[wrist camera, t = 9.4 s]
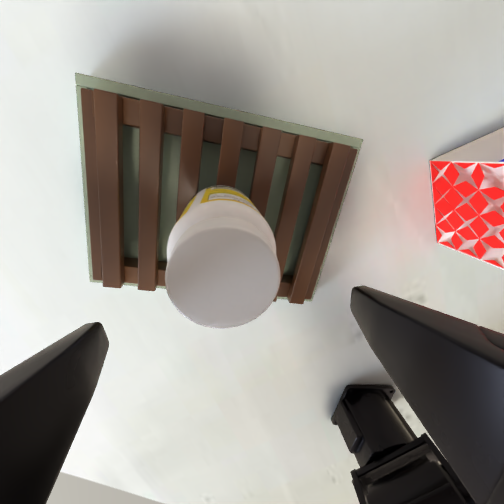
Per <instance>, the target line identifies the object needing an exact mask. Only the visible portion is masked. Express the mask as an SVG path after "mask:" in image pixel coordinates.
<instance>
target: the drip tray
mask: <svg viewBox="0 0 504 504" xmlns="http://www.w3.org/2000/svg"><path fill="white" fill-rule="evenodd" d="M75 80H76V93H77V107H78V121H79V135H80V150H81V164H82V178H83V192H84V207H85V221H86V235H87V249H88V264H89V275H90V276H89V278H90V282H97V283H103V281H101V280H93V274H92V259H91V243H90V228H89V212H88V197H87V182H86V166H85V151H84V135H83V120H82V105H81V88H86V89H90V90H93V89H95V88H96V89H100V90H105V91H109V92H114V93H117V94H118V95H120V96H122V97H126V98H131V99H135V100H140V99H145V100H149V101H154V102H158V103H162V104H163V105H164V106H166V107H171V108H175V109H180V110H183V109H184V108H185V109H190V110H194V111H198V112H203V113H205V115H207V116H211V117H216V118H220V119H224V118H229V119H234V120H238V121H243V122H244V123H245V124H247V125H252V126H256V127H260V128H262V127H263V126H265V127H269V128H274V129H278V130H282V132H283V133H287V134H292V135H296V136H297V135H305V136H309V137H314V138H317V140H319V141H323V142H328V143H332V142H336V143H341V144H345V145H349V146H351V147H350V148H355V149H357V150H358V151H357V154H356V157H355V161H354V164H353V167H352V170H351V173H350V177H349V180H348V183H347V186H346V189H345V193H344V196H343V199H342V202H341V205H340V208H339V212H338V215H337V218H336V221H335V224H334V228H333V231H332V234H331V237H330V240H329V244H328V247H327V250H326V253H325V256H324V260H323V263H322V266H321V269H320V272H319V276H318V279H317V282H316V285H315V288H314V291H313V295H312V298H311V300H310V299H304V301H311V302H312V300H313V296H314V294H315V290H316V287H317V284H318V281H319V278H320V275H321V271H322V268H323V265H324V262H325V259H326V256H327V252H328V249H329V246H330V243H331V240H332V237H333V233H334V230H335V227H336V224H337V221H338V218H339V215H340V211H341V208H342V205H343V202H344V199H345V196H346V192H347V189H348V186H349V183H350V180H351V177H352V173H353V170H354V167H355V164H356V161H357V158H358V154H359V151H360V148H361V145H362V142H363V139H359V138H354V137H350V136H346V135H342V134H337V133H333V132H329V131H324V130H320V129H316V128H311V127H307V126H303V125H299V124H294V123H290V122H286V121H281V120H277V119H273V118H268V117H264V116H260V115H256V114H251V113H247V112H243V111H238V110H234V109H230V108H226V107H221V106H217V105H213V104H208V103H204V102H200V101H195V100H191V99H187V98H183V97H178V96H174V95H170V94H165V93H161V92H157V91H152V90H148V89H144V88H140V87H135V86H131V85H127V84H122V83H118V82H114V81H110V80H105V79H101V78H97V77H92V76H88V75H84V74H79V73H75ZM220 149H221V145H218V144H213V143H208V142H203V148H202V158H201V168H200V179H199V189H198V193H199V192H200V191H201V190H203V189H205V188H208V187H211V186H216V182H217V173H218V165H219V157H220ZM180 150H181V137H178V136H173V135H168V134H164V147H163V170H162V192H161V215H160V237H159V260H158V261H165V262H168V261H167V244H168V239H169V235H170V233H171V231H172V229H173V227H174V226H175V224H176V209H177V194H178V180H179V165H180ZM256 154H257V152H252V151H247V150H242V149H241V151H240V157H239V164H238V170H237V177H236V184H235V189H237V190H239V191H241V192H242V193H244V194H245V195H246V196H247V197H248V198H249V194H250V189H251V183H252V177H253V172H254V166H255V160H256ZM290 161H291V159H287V158H282V157H277V158H276V163H275V168H274V173H273V178H272V183H271V188H270V193H269V198H268V203H267V208H266V213H265V217H264V219H265V220H266V221H267V223H268V225H269V226H270V228H271V230H272V233H273V235H274V232H275V228H276V223H277V219H278V214H279V210H280V205H281V201H282V196H283V192H284V188H285V183H286V179H287V174H288V170H289V165H290ZM322 167H323V166H321V165H316V164H311V165H310V169H309V173H308V177H307V181H306V185H305V189H304V193H303V197H302V201H301V205H300V209H299V213H298V217H297V221H296V225H295V228H294V232H293V236H292V240H291V244H290V248H289V252H288V256H287V260H286V264H285V268H284V272H283V274H285V275H293V274H294V270H295V267H296V263H297V259H298V256H299V252H300V248H301V245H302V241H303V237H304V234H305V230H306V226H307V222H308V219H309V215H310V211H311V208H312V204H313V200H314V197H315V193H316V189H317V186H318V182H319V178H320V174H321V171H322ZM123 200H124V257H128V258H138V219H139V128H134V127H129V126H124V125H123ZM123 285H131V286H138V284H134V283H124V284H123ZM156 288H164V289H166V286H157V287H156ZM277 299H287V297H278V296H277Z"/></svg>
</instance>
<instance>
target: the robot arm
mask: <svg viewBox="0 0 504 504" xmlns="http://www.w3.org/2000/svg"><path fill="white" fill-rule="evenodd" d="M350 307H351V311H352V313H353V315H354V317H355V319H356V321H357V323H358V325H359V327H360V328H361V330H362V332H363V334H364V336H365V338H366V340H367V342H368V343H369V345H370V347H371V348H372V350H373V351H374V353H375V355H376V356H377V357H378V359H379V360H380V362H381V363H382V365H383V366H384V368H385V369H386V371H387V372H388V374H389V375H390V377H391V378H392V380H393V381H394V383H395V384H396V386H397V387H398V389H399V390H400V392H401V393H402V395H403V396H404V398H405V399H406V401H407V402H408V403H409V405H410V406H411V408H412V409H413V411H414V412H415V414H416V415H417V417H418V418H419V420H420V421H421V423H422V424H423V426H424V427H425V429H426V430H427V432H428V433H429V435H430V436H431V438H432V439H433V441H434V442H435V444H436V445H437V446H438V448H439V449H440V451H441V452H442V454H443V455H444V456H443V455H442V454H441V452H440V451H439V450H438V449H437V447H436V446H435V445H434V443H433V442H432V441H431V439H430V438H429V437H428V435H427V434H426V433H424V434H422V435H421V437H419V438H417V436H416V435H415V434H414V432H413V431H412V429H411V428H410V426H409V425H408V424H407V422H406V421H405V419H404V418H403V417H402V415H401V414H400V412H399V411H398V409H397V408H396V407H395V405H394V404H393V402H392V401H391V398H392V396H393V394H394V392H395V389H394V388H393V386H379V385H348V386H346V387H345V389H344V392H343V394H342V396H341V398H340V401H339V403H338V405H337V408H336V410H335V412H334V414H333V417H332V419H331V421H332V423H333V424H334V425H338V426H339V428H340V431H341V433H342V435H343V438H344V440H345V442H346V444H347V447H348V449H349V451H350V452H351V453H354V455H355V457H356V459H357V461H358V464H359V466H360V468H359V469H357V470H355V469H354V470H352V471H351V475H352V478H353V480H352V483H353V485H354V488H355V491H356V494H357V497H358V500H359V503H360V504H504V334H502V333H499V332H496V331H493V330H490V329H487V328H484V327H482V326H479V327H478V326H477V325H476V324H473V323H470V322H467V321H464V320H461V319H459V318H456V317H453V316H450V315H447V314H444V313H441V312H439V311H436V310H433V309H430V308H427V307H424V306H421V305H418V304H416V303H413V302H410V301H407V300H404V299H401V298H398V297H396V296H393V295H390V294H387V293H384V292H381V291H378V290H376V289H373V288H370V287H367V286H357V287H354V288H353V289H352V294H351V304H350ZM108 347H109V341H108V338H107V335H106V333H105V330H104V328H103V326H102V324H101V323H99V322H95V323H88V324H85V325H83V326H82V327H80V328H78V329H77V330H75V331H73V332H72V333H70V334H68V335H67V336H65V337H63V338H62V339H60V340H58V341H57V342H55V343H53V344H52V345H50V346H48V347H47V348H45V349H43V350H42V351H40V352H38V353H37V354H35V355H33V356H32V357H30V358H28V359H27V360H25V361H23V362H22V363H20V364H18V365H17V366H15V367H14V368H12V369H10V370H9V371H7V372H5V373H4V374H2V375H0V504H46V502H47V500H48V498H49V495H50V493H51V491H52V489H53V486H54V484H55V482H56V479H57V477H58V475H59V472H60V470H61V468H62V465H63V463H64V461H65V459H66V456H67V454H68V452H69V449H70V447H71V445H72V442H73V440H74V438H75V435H76V433H77V431H78V429H79V426H80V424H81V422H82V419H83V417H84V415H85V412H86V410H87V408H88V405H89V403H90V401H91V398H92V396H93V393H94V391H95V388H96V385H97V382H98V379H99V376H100V373H101V370H102V367H103V363H104V360H105V357H106V354H107V351H108ZM444 457H445V458H446V459H445V458H444ZM447 461H448V462H447ZM438 462H439V463H438Z"/></svg>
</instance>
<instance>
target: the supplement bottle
mask: <svg viewBox="0 0 504 504" xmlns="http://www.w3.org/2000/svg"><path fill="white" fill-rule="evenodd" d="M167 261H168V263H167V266H166V272H165V284H166V289H167V293H168V295H169V298H170V299H171V301H172V303H173V304H174V306H175V307H176V308H177V310H178V311H179V312H180V313H181V314H182V315H184V316H185V317H186V318H188V319H189V320H191V321H193V322H195V323H197V324H200V325H203V326H206V327H211V328H232V327H236V326H240V325H243V324H246V323H248V322H250V321H252V320H254V319H256V318H257V317H258V316H260V315H261V314H262V313H263V312H264V311H266V310H267V308H268V307H269V306H270V305H271V303H272V302H273V300H274V299H275V297H276V295H277V292H278V289H279V285H280V266H279V262H278V259H277V256H276V243H275V239H274V235H273V233H272V230H271V228H270V226H269V225H268V223H267V221H266V220H265V219H264V218H263V216H262V215H261V214H260V212H259V211H258V210H257V208H256V207H255V206H254V205H253V203H252V202H251V201H250V199H249V198H248V197H247V196H246V195H245V194H244V193H242V192H241V191H239V190H237V189H235V188H233V187H229V186H223V185H217V186H211V187H208V188H205V189H203V190H201V191H200V192H199V193H197V194H196V195H195V196H194V197H193V198H192V199H191V200H190V202H189V203H188V205H187V207H186V208H185V210H184V212H183V213H182V215H181V216H180V218H179V220H178V221H177V223H176V224H175V226H174V227H173V229H172V231H171V233H170V235H169V239H168V244H167Z"/></svg>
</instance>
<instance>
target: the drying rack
mask: <svg viewBox="0 0 504 504" xmlns="http://www.w3.org/2000/svg"><path fill="white" fill-rule="evenodd" d="M81 105H82V120H83V135H84V151H85V166H86V182H87V197H88V212H89V228H90V243H91V259H92V274H93V280H101V281H103V287H112V288H121V287H122V286H123V284H124V283H134V284H138V290H146V291H155V290H156V287H157V286H166V284H165V272H166V266H167V263H168V262H165V261H158V260H159V237H160V215H161V192H162V170H163V147H164V134H168V135H173V136H178V137H181V150H180V165H179V180H178V194H177V209H176V223H177V221H178V220H179V218H180V216H181V215H182V213H183V212H184V210H185V208H186V207H187V205H188V203H189V202H190V200H191V199H192V198H193V197H194V196H195V195H196V194H197V193H198V189H199V179H200V168H201V158H202V148H203V142H208V143H213V144H218V145H221V149H220V157H219V165H218V173H217V182H216V186H217V185H223V186H229V187H233V188H235V184H236V177H237V170H238V164H239V157H240V151H241V149H242V150H247V151H252V152H257V154H256V160H255V166H254V172H253V177H252V183H251V189H250V194H249V199H250V201H251V202H252V203H253V205H254V206H255V207H256V208H257V210H258V211H259V212H260V214H261V215H262V216H263V218H264V217H265V213H266V208H267V203H268V198H269V193H270V188H271V183H272V178H273V173H274V168H275V163H276V158H277V157H282V158H287V159H291V161H290V165H289V170H288V174H287V179H286V183H285V188H284V192H283V196H282V201H281V205H280V210H279V214H278V219H277V223H276V228H275V232H274V239H275V243H276V256H277V259H278V262H279V266H280V285H279V289H278V292H277V295H276V297H275V299H274V300H273V301H274V302H276V300H277V296H278V297H287V299H288V301H289V303H296V304H303V303H304V299H310V300H311V298H312V295H313V291H314V288H315V285H316V282H317V279H318V276H319V272H320V269H321V266H322V263H323V260H324V256H325V253H326V250H327V247H328V244H329V240H330V237H331V234H332V231H333V228H334V224H335V221H336V218H337V215H338V212H339V208H340V205H341V202H342V199H343V196H344V193H345V189H346V186H347V183H348V180H349V177H350V173H351V170H352V167H353V164H354V161H355V157H356V154H357V151H358V150H357V149H355V148H350V147H351V146H349V145H345V144H341V143H336V142H332V143H328V142H323V141H319V140H317V138H314V137H309V136H305V135H297V136H296V135H292V134H287V133H283V132H282V130H278V129H274V128H269V127H265V126H263V127H262V128H260V127H256V126H252V125H247V124H245V123H244V122H243V121H238V120H234V119H229V118H224V119H220V118H216V117H211V116H207V115H205V113H203V112H198V111H194V110H190V109H185V108H184V109H183V110H180V109H175V108H171V107H166V106H164V105H163V104H162V103H158V102H154V101H149V100H145V99H140V100H135V99H131V98H126V97H122V96H120V95H118V94H117V93H114V92H109V91H105V90H100V89H96V88H95V89H93V90H90V89H86V88H81ZM123 125H124V126H129V127H134V128H139V219H138V258H128V257H124V200H123ZM311 164H316V165H321V166H323V167H322V171H321V174H320V178H319V182H318V186H317V189H316V193H315V197H314V200H313V204H312V208H311V211H310V215H309V219H308V222H307V226H306V230H305V234H304V237H303V241H302V245H301V248H300V252H299V256H298V259H297V263H296V267H295V270H294V274H293V275H285V274H283V272H284V268H285V264H286V260H287V256H288V252H289V248H290V244H291V240H292V236H293V232H294V228H295V225H296V221H297V217H298V213H299V209H300V205H301V201H302V197H303V193H304V189H305V185H306V181H307V177H308V173H309V169H310V165H311Z"/></svg>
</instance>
